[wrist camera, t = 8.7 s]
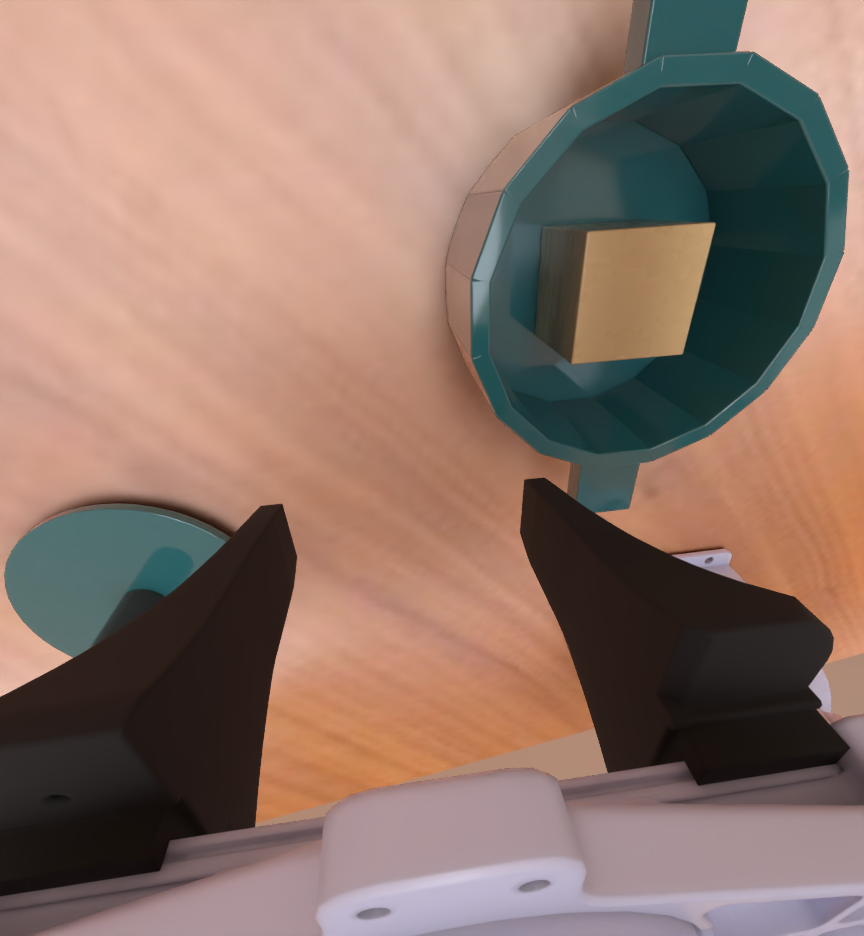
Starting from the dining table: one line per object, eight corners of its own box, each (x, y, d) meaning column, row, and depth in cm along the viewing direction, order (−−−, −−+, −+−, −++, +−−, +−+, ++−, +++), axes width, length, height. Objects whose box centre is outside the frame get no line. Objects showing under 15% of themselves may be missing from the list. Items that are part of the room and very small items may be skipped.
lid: (239, 482, 20) (210, 541, 17) (296, 646, 27) (284, 715, 23) (-38, 511, 20) (-132, 580, 16) (90, 673, 26) (44, 749, 22)
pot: (787, -19, 13) (1001, -137, 9) (665, 445, 22) (741, 507, 18) (434, -8, 13) (467, -131, 8) (451, 468, 21) (472, 539, 17)
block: (645, 219, 16) (717, 221, 13) (625, 328, 18) (683, 355, 15) (542, 226, 16) (587, 230, 12) (534, 335, 18) (571, 365, 15)
